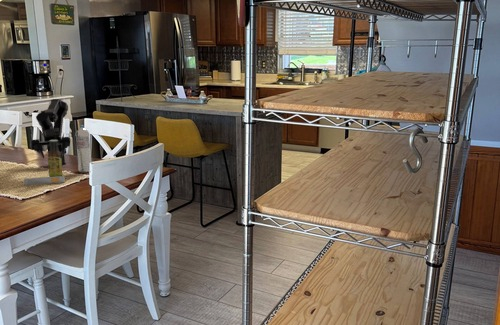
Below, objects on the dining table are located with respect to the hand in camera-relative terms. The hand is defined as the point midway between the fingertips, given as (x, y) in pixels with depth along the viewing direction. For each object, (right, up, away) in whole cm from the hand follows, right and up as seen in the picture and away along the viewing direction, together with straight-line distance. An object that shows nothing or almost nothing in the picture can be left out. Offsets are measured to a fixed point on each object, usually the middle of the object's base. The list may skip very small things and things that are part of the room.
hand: (53, 156), depth 226 cm
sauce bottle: (+3, -12, -3) cm, 12 cm away
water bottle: (+11, -8, +13) cm, 19 cm away
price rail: (+1, -13, -11) cm, 17 cm away
